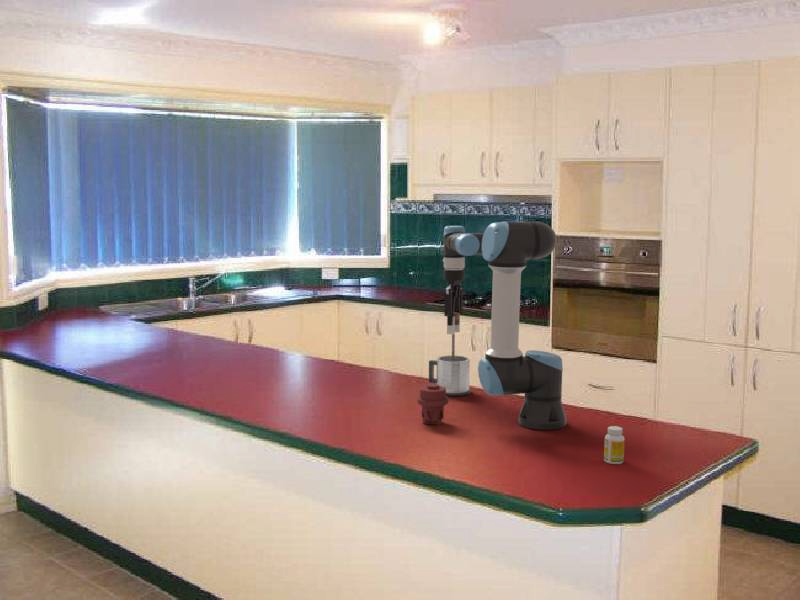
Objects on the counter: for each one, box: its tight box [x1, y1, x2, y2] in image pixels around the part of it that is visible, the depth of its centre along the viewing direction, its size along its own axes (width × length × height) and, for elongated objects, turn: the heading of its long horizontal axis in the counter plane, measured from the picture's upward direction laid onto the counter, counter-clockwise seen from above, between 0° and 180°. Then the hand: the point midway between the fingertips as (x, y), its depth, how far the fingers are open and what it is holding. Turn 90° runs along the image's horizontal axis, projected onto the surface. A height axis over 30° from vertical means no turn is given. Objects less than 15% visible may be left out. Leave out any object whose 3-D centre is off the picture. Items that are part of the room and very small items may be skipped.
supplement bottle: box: [603, 425, 626, 465], centre depth 248 cm, size 5×5×10 cm
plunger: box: [451, 312, 461, 362], centre depth 324 cm, size 8×8×21 cm
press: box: [428, 355, 472, 398], centre depth 326 cm, size 16×13×12 cm
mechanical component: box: [416, 383, 450, 425], centre depth 286 cm, size 12×10×10 cm
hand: (453, 332), depth 324 cm, fingers closed on plunger, 4 cm apart
